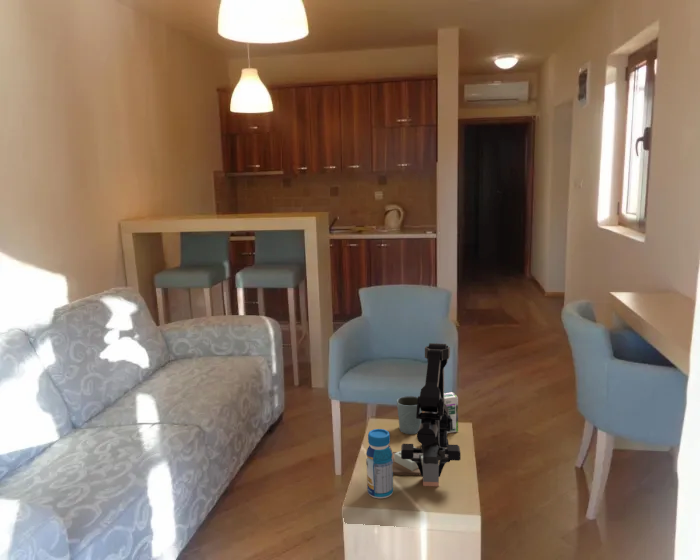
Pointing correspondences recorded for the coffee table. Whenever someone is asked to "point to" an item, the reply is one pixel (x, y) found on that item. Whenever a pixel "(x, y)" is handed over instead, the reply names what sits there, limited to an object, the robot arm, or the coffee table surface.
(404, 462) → the holder collar
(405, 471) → the walnut board
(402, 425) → the grey green cup
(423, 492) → the coffee table surface
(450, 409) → the syrup box
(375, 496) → the beverage bottle
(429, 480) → the banded block
